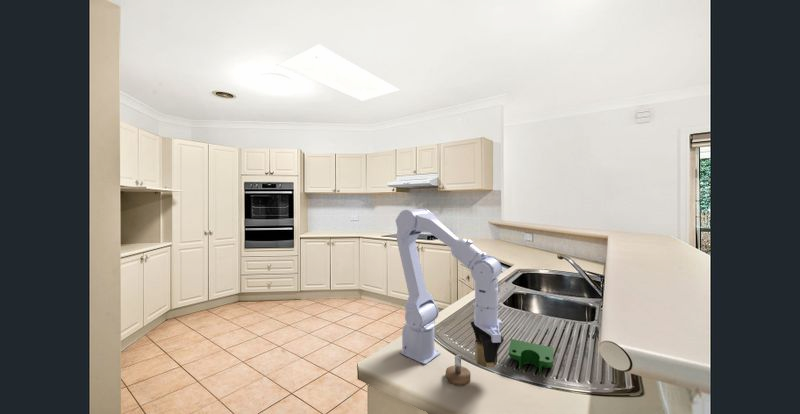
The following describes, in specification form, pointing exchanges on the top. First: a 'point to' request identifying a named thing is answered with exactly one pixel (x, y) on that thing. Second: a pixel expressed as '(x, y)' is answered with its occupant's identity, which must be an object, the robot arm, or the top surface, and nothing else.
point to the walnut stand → (458, 376)
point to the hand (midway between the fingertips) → (485, 355)
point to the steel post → (458, 364)
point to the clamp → (531, 354)
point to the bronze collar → (482, 355)
